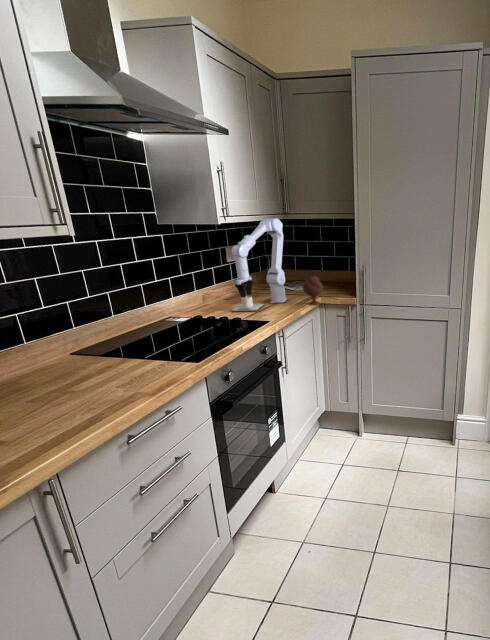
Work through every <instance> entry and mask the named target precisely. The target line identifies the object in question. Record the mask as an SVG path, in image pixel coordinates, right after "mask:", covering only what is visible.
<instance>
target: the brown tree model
mask: <svg viewBox="0 0 490 640" xmlns="http://www.w3.org/2000/svg"><path fill="white" fill-rule="evenodd" d="M323 290H324V285H323V284H322V282H321V281H320V278H319V277H317V276H315V275H312V276H310V277H309V278H308V279H306V280H305V281H304V283H303V286H302V291H304V293H305V294H306V295H308V296H309V297H311V298H312V300H311V301H310V302H309V305H311V306H316V305H320V303H321V302H320V301H318V300H317V298H316V297H318V296H319V295H320V294H321V293H322V292H323Z"/></svg>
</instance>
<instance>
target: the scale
mask: <svg viewBox="0 0 490 640" xmlns="http://www.w3.org/2000/svg"><path fill="white" fill-rule="evenodd" d="M264 306H265V305H264V303H253V307H249V308H244V307H243V306H242V303H240V304H239V305H237V306H236V307H234V308H232V309H231V313H256V312H258V311H259V310H261V309H262V308H264Z"/></svg>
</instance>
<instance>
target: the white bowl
mask: <svg viewBox="0 0 490 640" xmlns="http://www.w3.org/2000/svg"><path fill="white" fill-rule="evenodd" d="M240 300H241V304H242V306H243V307H244V308H249V307H253V304H254V299H253V296H252V295H246V297H245V298H241V297H240Z"/></svg>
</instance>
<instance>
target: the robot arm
mask: <svg viewBox="0 0 490 640" xmlns="http://www.w3.org/2000/svg"><path fill="white" fill-rule="evenodd" d="M283 225H284V224H283V223H282V221H281V220H280V219H279V218H276V217H275V218H263V219H262V220H261V221H260V222H259V224H258V225H257V226H256V227H255V229H254V230H253V231H252V233H251V234H246V235H244V236H243V239H242V240H240V241H238V242H237V244H235V245H233V246H232V248H231V251H230V253H231V255H232V256H233V259H234V262H235V268H236V275H237V279H236V280H235V284H234V286H235V288H236V289H237V290H238V293H239V295H240V299H241V298H245V297H246V296H252V291H253V285H254V282H255V281H254V280H252V279H253V278H252V275H250V272H249V266H248V259H247V257H248V255H249V251H250V250H251V249H252V248H253V247H254V246H255V245H256V243H257V242H256V241H257V240H258V239H259V238H260V237H262V236H263V234H265V232H266V233H267V234H268V235H270V236H271V238H272V247H271V261H270V262H271V263H270V267H269V269H268V270H267V275H266V277H265V281H266V283H267V284H268V286H269V291H270V297H271V301H269V303H270V304H282V303H283V304H284V303H285V302H287V300H288V298H286V297H287V296H286V289H285V286H284V285H285V283H286V276H285V271H284V270H283V269H282V265H283V264H282V263H283V248H284V233H283Z"/></svg>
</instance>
